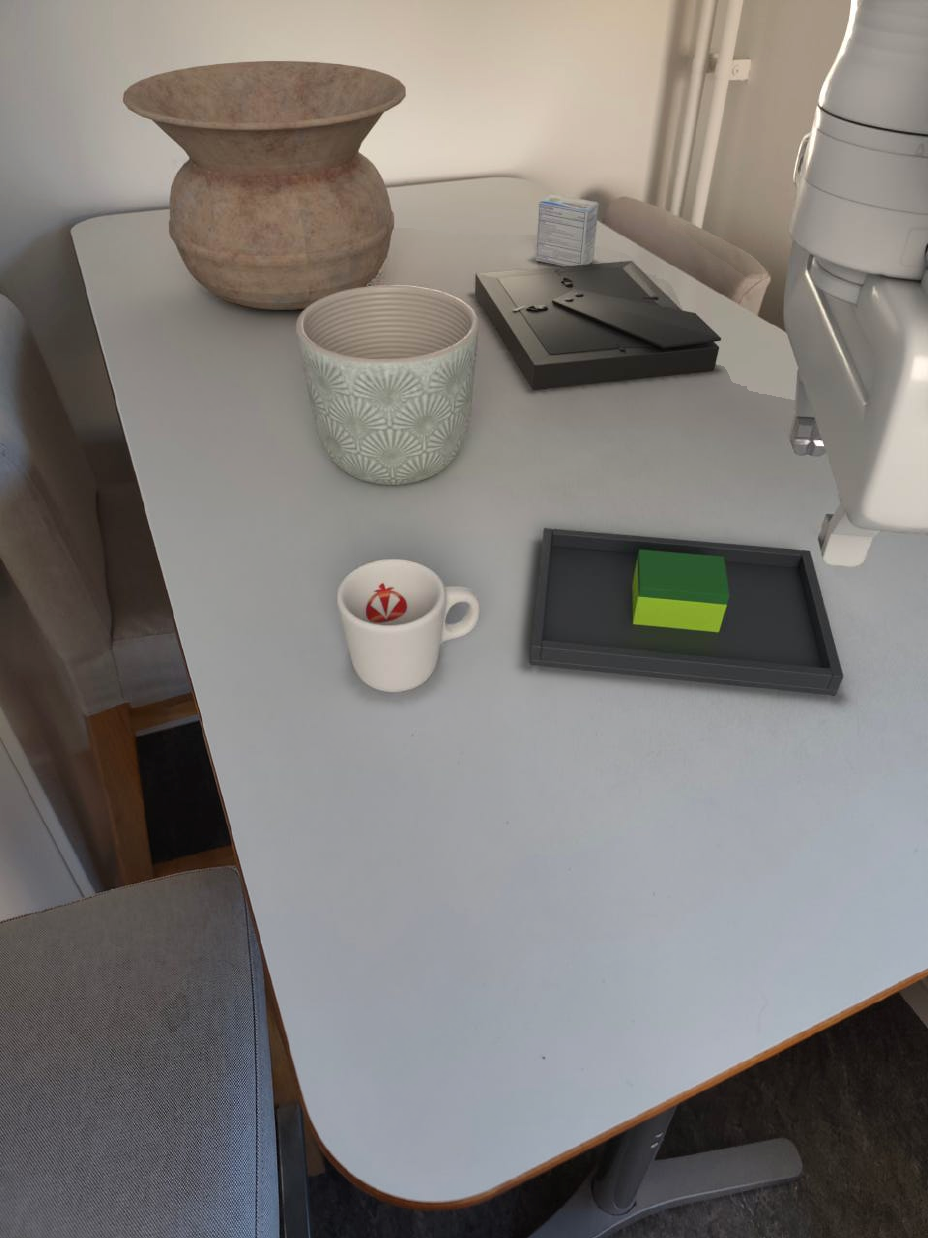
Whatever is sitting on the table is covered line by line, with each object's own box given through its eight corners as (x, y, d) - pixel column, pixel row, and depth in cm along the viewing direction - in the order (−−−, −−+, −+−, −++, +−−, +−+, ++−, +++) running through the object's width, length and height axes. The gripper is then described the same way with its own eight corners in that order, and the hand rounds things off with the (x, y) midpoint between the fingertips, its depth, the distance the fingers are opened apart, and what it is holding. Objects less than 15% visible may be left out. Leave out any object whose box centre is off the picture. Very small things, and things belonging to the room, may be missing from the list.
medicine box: (593, 262, 132) (600, 201, 126) (581, 271, 129) (587, 210, 124) (547, 252, 135) (551, 192, 129) (534, 261, 132) (538, 201, 127)
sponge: (714, 592, 75) (724, 556, 72) (719, 632, 71) (729, 595, 68) (632, 585, 75) (638, 548, 72) (632, 624, 72) (639, 587, 69)
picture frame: (714, 370, 106) (629, 282, 127) (721, 338, 104) (633, 252, 124) (532, 389, 102) (475, 295, 123) (535, 356, 99) (475, 265, 120)
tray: (803, 568, 78) (810, 550, 77) (835, 695, 67) (844, 677, 65) (542, 545, 80) (543, 527, 79) (529, 665, 69) (531, 646, 67)
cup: (461, 618, 73) (462, 542, 67) (493, 684, 67) (497, 607, 62) (335, 645, 70) (325, 568, 65) (357, 716, 65) (349, 639, 59)
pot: (320, 232, 141) (302, 50, 124) (461, 295, 122) (463, 92, 106) (124, 285, 124) (72, 83, 107) (254, 369, 105) (217, 140, 88)
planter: (366, 406, 99) (356, 272, 89) (502, 442, 93) (508, 303, 83) (280, 480, 88) (257, 336, 77) (428, 526, 82) (425, 378, 72)
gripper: (1118, 306, 25) (945, 649, 34) (934, 134, 40) (848, 405, 50) (893, 295, 26) (782, 635, 35) (794, 131, 41) (735, 398, 50)
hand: (820, 498), depth 42 cm, fingers open, 8 cm apart
